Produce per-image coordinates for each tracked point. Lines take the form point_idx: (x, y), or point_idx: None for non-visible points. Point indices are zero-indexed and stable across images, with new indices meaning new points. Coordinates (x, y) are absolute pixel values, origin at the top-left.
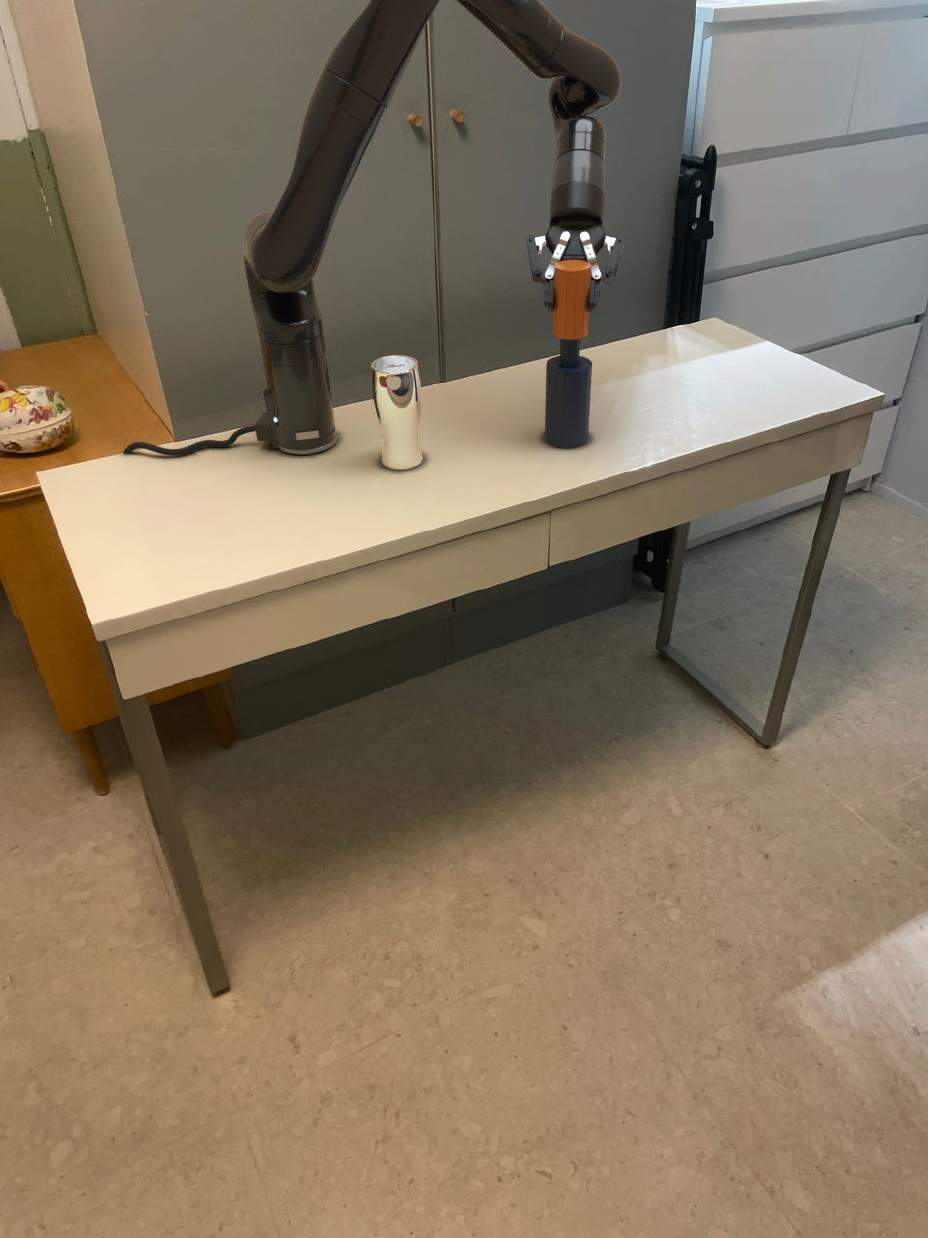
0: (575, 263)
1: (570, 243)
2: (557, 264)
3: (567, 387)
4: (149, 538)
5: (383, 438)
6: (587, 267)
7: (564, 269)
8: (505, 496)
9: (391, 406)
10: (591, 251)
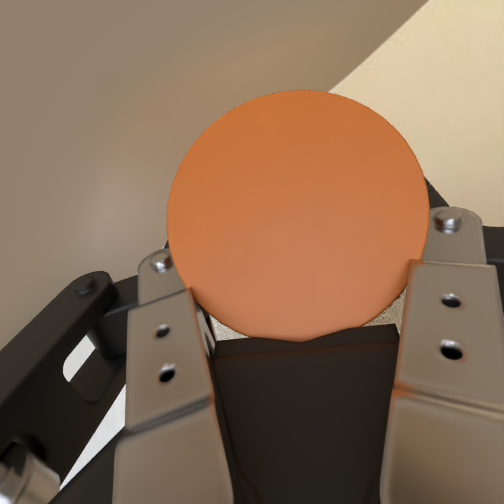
0: (276, 252)
1: (360, 463)
2: (408, 206)
3: None
4: None
5: None
6: (185, 180)
7: (329, 105)
8: (366, 90)
9: None
10: (148, 351)
